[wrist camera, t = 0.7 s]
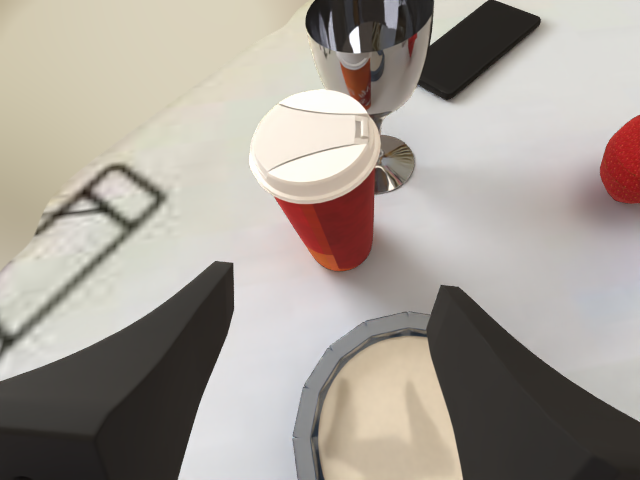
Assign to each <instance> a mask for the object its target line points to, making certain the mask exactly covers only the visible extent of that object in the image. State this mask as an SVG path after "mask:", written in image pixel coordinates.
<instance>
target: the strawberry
mask: <svg viewBox="0 0 640 480" xmlns="http://www.w3.org/2000/svg"><path fill="white" fill-rule="evenodd" d="M600 176H601V180H602V182H603V184H604V186H605V188H606V190H607V192H608V194H609V195H610V196H611V197H612V198H613V199H614V200H616V201H618V202H624V203H630V204H632V203H640V115H638V116H636V117H635V118H633V119H631V120H630V121H629V122H628V123H626V124H625V125H624V126H623V127H622V128H621V129H620V130H619V131H617V132H616V133H615V134H614V135H613V137H612V138H611V139H610V140H609V142H608V144H607V146H606V149H605V152H604V156H603V159H602V163H601V166H600Z"/></svg>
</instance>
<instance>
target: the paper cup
mask: <svg viewBox="0 0 640 480" xmlns="http://www.w3.org/2000/svg"><path fill="white" fill-rule="evenodd" d="M380 145H381V142H380V134H379V131H378V128H377V126H376V125H375V123H374V121H373V120H372V119H371V118H370V116H369V115H368V113H367V111H366V110H365V108H364V107H363V106H362V105H361V104H360V103H359V102H358V101H356V100H355V99H354V98H352V97H350V96H348V95H346V94H344V93H341V92H337V91H332V90H311V91H305V92H301V93H298V94H295V95H292V96H290V97H288V98H286V99H284V100H282V101H280V102H279V103H278V104H276V105H275V106H274V107H273V108H272V109H271V110H270V111H269V112H268V113H267V114H266V115H265V116H264V117H263V119H262V120H261V121H260V123H259V125H258V127H257V129H256V132H255V133H254V135H253V138H252V141H251V150H250V156H249V164H250V169H251V171H252V172H253V174H254V175H255V177H256V179H257V180H258V182H259V184H260V185H261V186H262V187H263V188H264V189H265V190H266V191H267V192H269V193H270V194H271V195H273V196H274V197H275V199H276V201H277V202H278V204H279V205H280V207H281V208H282V210H283V211H284V213H285V215H286V216H287V218H288V219H289V221H290V222H291V224H292V225H293V227H294V229H295V230H296V232H297V233H298V235H299V236H300V238H301V239H302V241H303V242H304V244H305V245H306V247H307V248H308V250H309V251H310V253H311V254H312V256H313V257H314V258H315V260H316V261H317V262H318V263H319V264H321V265H322V266H323V267H325V268H327V269H330V270H334V271H346V270H350V269H353V268H355V267H357V266H359V265H360V264H361V263H362V262H363V261H364V260H365V259H366V258H367V257H368V255H369V253H370V251H371V247H372V241H373V222H374V177H375V165H376V163H377V160H378V157H379V153H380Z"/></svg>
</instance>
